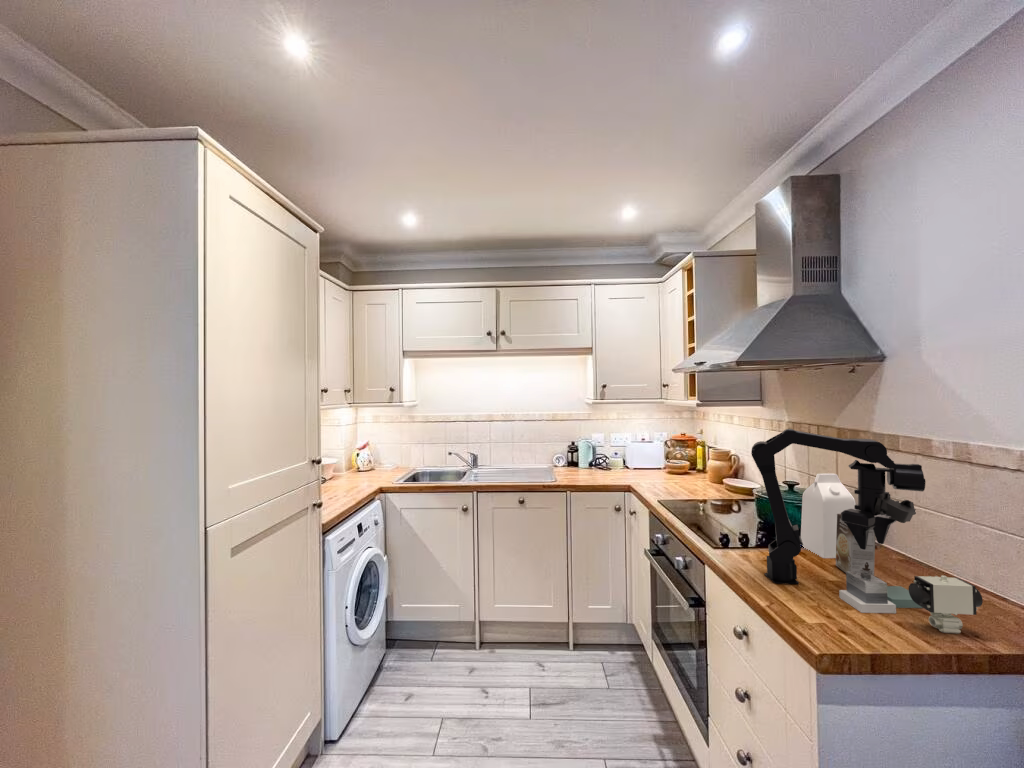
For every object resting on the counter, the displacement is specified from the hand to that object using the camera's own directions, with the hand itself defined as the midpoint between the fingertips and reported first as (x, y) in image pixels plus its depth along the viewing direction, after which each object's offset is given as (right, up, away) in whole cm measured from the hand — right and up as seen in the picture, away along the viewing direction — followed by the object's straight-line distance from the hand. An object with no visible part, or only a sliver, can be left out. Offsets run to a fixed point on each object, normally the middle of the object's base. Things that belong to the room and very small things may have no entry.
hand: (872, 546), depth 118 cm
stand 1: (-6, -13, -6) cm, 15 cm away
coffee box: (+6, -13, +14) cm, 20 cm away
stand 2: (+4, -13, -4) cm, 14 cm away
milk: (+11, -14, +32) cm, 37 cm away
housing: (-6, -11, -6) cm, 14 cm away
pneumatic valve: (+2, -12, -18) cm, 22 cm away
